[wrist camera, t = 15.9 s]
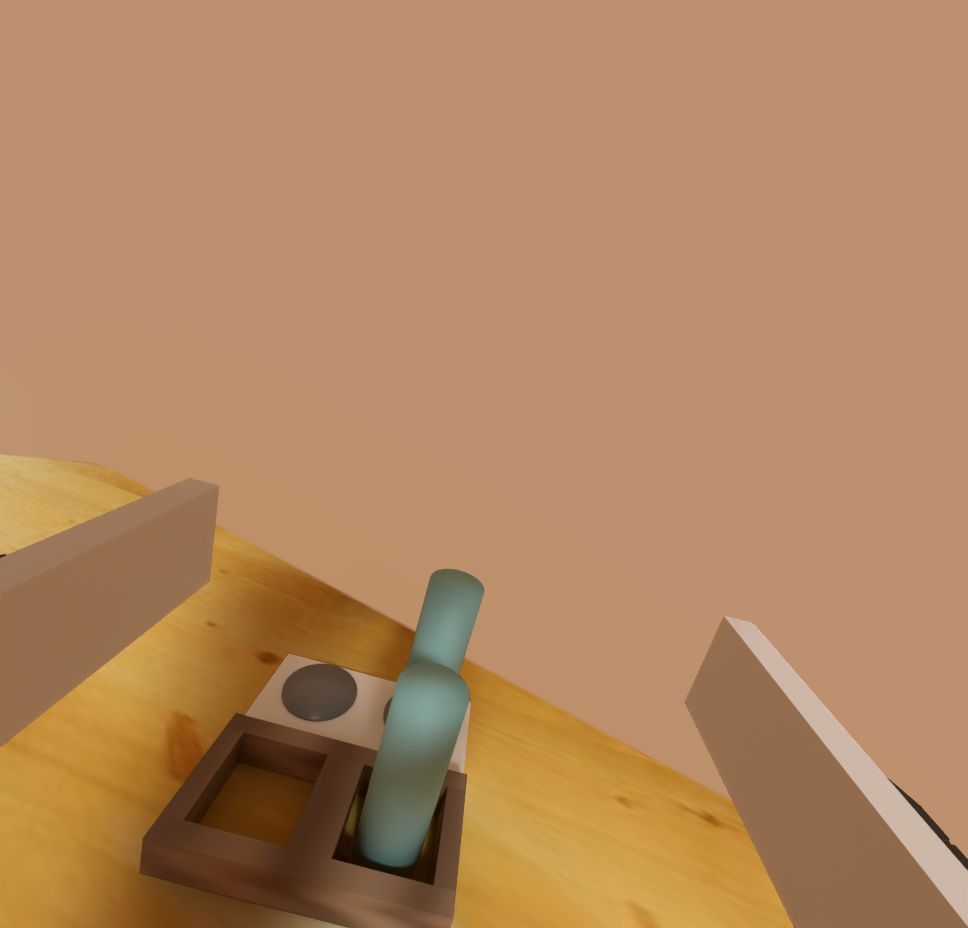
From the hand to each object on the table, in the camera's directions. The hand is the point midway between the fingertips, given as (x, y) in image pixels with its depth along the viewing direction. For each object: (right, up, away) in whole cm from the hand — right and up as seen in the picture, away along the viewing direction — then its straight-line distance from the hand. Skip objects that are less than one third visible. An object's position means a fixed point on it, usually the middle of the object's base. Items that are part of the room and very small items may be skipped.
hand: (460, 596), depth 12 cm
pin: (-4, -16, +24) cm, 29 cm away
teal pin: (-5, -20, +16) cm, 26 cm away
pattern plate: (-9, -17, +23) cm, 30 cm away
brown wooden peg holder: (-9, -19, +16) cm, 26 cm away
